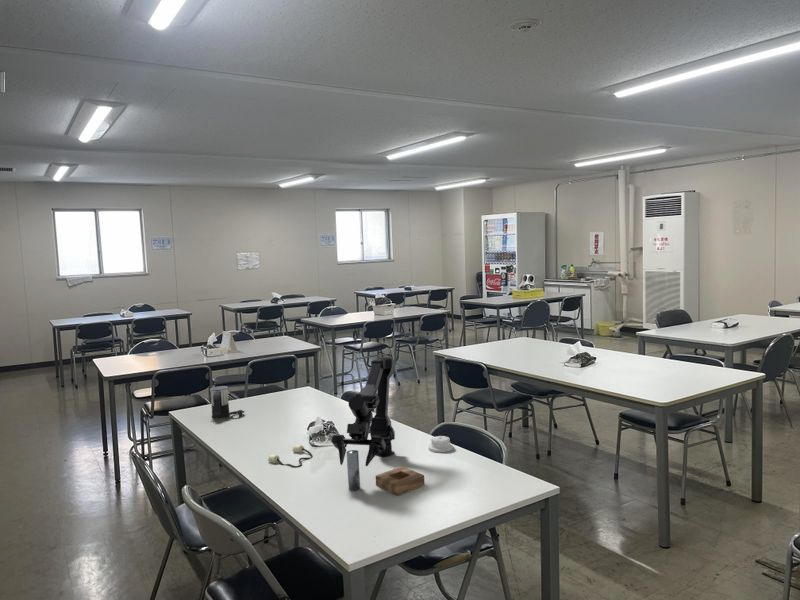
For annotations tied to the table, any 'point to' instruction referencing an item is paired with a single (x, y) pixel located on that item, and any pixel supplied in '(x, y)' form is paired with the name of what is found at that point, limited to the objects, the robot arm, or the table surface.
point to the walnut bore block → (400, 480)
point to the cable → (296, 449)
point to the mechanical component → (440, 444)
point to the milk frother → (221, 402)
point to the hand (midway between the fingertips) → (353, 465)
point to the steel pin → (353, 470)
